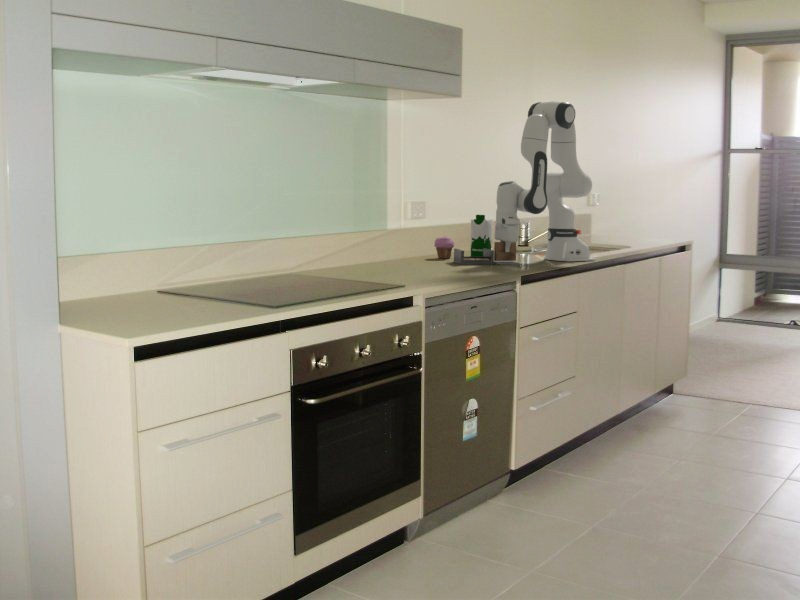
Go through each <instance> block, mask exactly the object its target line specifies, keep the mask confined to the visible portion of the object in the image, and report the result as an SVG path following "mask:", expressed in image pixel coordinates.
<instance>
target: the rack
mask: <svg viewBox="0 0 800 600" xmlns="http://www.w3.org/2000/svg"><path fill="white" fill-rule="evenodd" d="M464 259H475V260H464ZM476 259H489V260H476ZM453 263H455V264H458V265H460V266H490V265H491V266H492V265H493V266H494V265H495V264H494V250H492V249H491V250H490V249H486V248H483V256H471V255H469V256H465V250H462V249H459V248H453Z"/></svg>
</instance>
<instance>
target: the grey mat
mask: <svg viewBox="0 0 800 600" xmlns="http://www.w3.org/2000/svg"><path fill="white" fill-rule="evenodd" d="M498 264H500V265H520V262H518V261H494V265H498Z"/></svg>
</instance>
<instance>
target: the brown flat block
mask: <svg viewBox="0 0 800 600" xmlns="http://www.w3.org/2000/svg"><path fill="white" fill-rule="evenodd" d="M505 245H506V244H505V242H500V241H495V242H494V246H493V247H494V250H493V251H494V261H515V262H517V242H516V243H511V245H510V249H509V252H505V251H504V248H505Z"/></svg>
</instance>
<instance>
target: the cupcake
mask: <svg viewBox="0 0 800 600" xmlns="http://www.w3.org/2000/svg"><path fill="white" fill-rule="evenodd" d="M454 242H455V241H453V240H452V239H451V237H448V236H440V237H437V238H436V239H435V241H434V247H435V250H436V253H437V258H438V259H444V260H445V259H450V258H451V257H452V252H453V249H454V246H455V243H454Z"/></svg>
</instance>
